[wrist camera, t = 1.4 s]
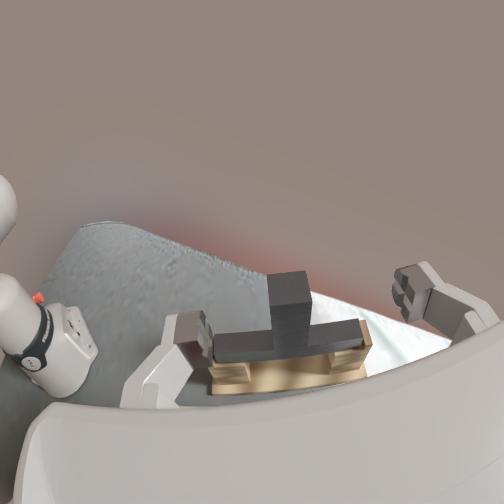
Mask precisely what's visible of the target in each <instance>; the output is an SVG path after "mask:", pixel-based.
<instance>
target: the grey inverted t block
mask: <svg viewBox="0 0 504 504" xmlns="http://www.w3.org/2000/svg"><path fill="white" fill-rule="evenodd" d="M267 283H268V293H269V304H270V314H271V324H272V330H263V331H252V332H239V333H225V334H214V356H215V358H216V360H217V362H218V364H229V363H245V362H259V361H270V360H280V359H290V358H298V357H306V356H314V355H321V354H328V353H334V352H340V351H346V350H352V349H357V348H359V347H360V345H361V343H362V340H363V338H364V336H363V333H362V329H361V326H360V323H359V319H358V318H357V319H351V320H345V321H338V322H331V323H324V324H317V325H310V319H311V310H312V298H311V293H310V289H309V284H308V279H307V275H306V271H297V272H288V273H278V274H269V275H267Z"/></svg>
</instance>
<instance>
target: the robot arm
mask: <svg viewBox="0 0 504 504" xmlns="http://www.w3.org/2000/svg"><path fill="white" fill-rule="evenodd" d="M16 220H17V201H16V196H15V193H14V191H13V189H12V187H11V185H10V184H9V182H8V181H7V180H6V179H5V178H4V177H3V176H1V175H0V244H1V243H2V242H3V240H4V239H5V238H6V236H7V235H8V234H9V232H10V231H11V230H12V228H13V227H14V226H15V224H16ZM394 277H395V279H396V281H395V282H394V283H393V286H392V295H393V299H394V301H395V303H396V305H397V306H399V307H401V308H402V309H401V314H402V316H403V317H404V319H405V321H406V323H410V322H413V321H416V320H420V319H423V320H425V321H426V322H428V323H429V324H430V325H432V326H433V327H435V328H436V329H437V330H439V331H440V332H442V333H443V334H444V335H446V336H447V337H449V338H450V339H451V340H452V342H451V344H450V345H449V347H448V348H446V349H443V350H441V351H439V352H436V353H434V354H431V355H429V356H427V357H424V358H421V359H419V360H416V361H414V362H411V363H408V364H406V365H403V366H400V367H397V368H394V369H391V370H388V371H385V372H382V373H379V374H376V375H373V376H370V377H366V378H363V379H359V380H356V381H352V382H349V383H345V384H341V385H337V386H333V387H329V388H325V389H321V390H316V391H312V392H307V393H303V394H298V395H292V396H287V397H282V398H276V399H270V400H263V401H256V402H249V403H241V404H232V405H222V406H211V407H197V408H180V407H179V406H178V405H177V404H176V403H175V402H174V400H175V399H176V397H177V395H178V394H179V392H180V391H181V389H182V387H183V386H184V384H185V383H186V381H187V379H188V378H189V376H190V375H191V373H192V371H193V369H197V368H205V367H212V360H213V353H212V351H211V349H210V348H211V347H212V345H213V335H212V330H211V327H210V325H209V323H207V322H205V317H206V316H205V314H204V312H203V311H201V310H200V311H193V312H185V313H179V314H171V315H167V317H166V319H165V324H164V329H163V335H162V340H161V345H160V346H157V347H156V348H155V349H154V350H153V351H152V352H151V354H150V355H149V356H148V357H147V358H146V359H145V360H144V362H143V363H142V364H141V365H140V366H139V367H138V368H137V369H136V371H135V372H134V373H133V374H132V375H131V376H130V377H129V379H128V380H127V381H126V382H125V384H124V388H123V393H122V398H121V403H120V408H111V407H98V406H87V405H78V404H70V403H63V402H53V403H51V404H50V405H49V406H47V407H46V408H45V409H44V410H43V411H42V412H41V413H40V414H39V415H38V416H37V417H36V418H35V419H34V420H33V421H32V423H31V424H30V426H29V428H28V431H27V434H26V436H25V439H24V443H23V446H22V450H21V454H20V458H19V462H18V467H17V472H16V478H15V485H14V493H13V504H504V319H503V320H502V321H500V320H499V318H498V317H497V315H496V314H495V312H494V311H493V310H492V308H491V307H490V306H489V304H488V303H487V302H485V301H483V300H481V299H479V298H477V297H475V296H473V295H471V294H469V293H467V292H465V291H462V290H460V289H458V288H456V287H454V286H452V285H450V284H448V283H446V284H444V282H443V281H442V280H441V279H440V277H439V276H438V275H437V273H436V272H435V271H434V270H433V268H432V267H431V266H430V265H429V264H428V263H427V262H426V261H423V262H420V263H417V264H413V265H410V266H406V267H403V268H399V269H396V271H395V274H394ZM42 302H44V297H43V295H42V294H41V293H40V292H38V293H37V294H36V295H33V296H32V298H31V297H30V296H29V295H28V293H27V292H26V291H25V290H24V289H23V287H22V286H21V285H20V283H19V282H18V281H17V280H16V279H15V278H13V277H12V276H10V275H6V274H1V273H0V347H1V348H2V350H3V352H4V353H5V354H6V355H7V356H8V358H9V359H10V360H12V361H13V362H15V363H16V364H17V365H18V366H19V367H20V368H21V369H22V370H23V371H24V372H25V373H26V374H27V375H29V376H30V377H31V380H32V382H33V383H35V384H36V385H38V386H41V387H42V388H43V389H44V390H45V391H46V392H47V393H48V394H49V395H51V396H53V397H56V398H64V397H67V396H69V395H71V394H73V393H74V392H76V391H77V390H78V389H79V388H80V386H81V385H82V384H83V382H84V380H85V379H86V376H87V374H88V371H89V368H90V365H91V363H92V361H93V360H94V359H95V357H96V356H97V354H98V348H97V346H96V344H95V342H94V340H93V338H92V336H91V334H90V331H89V329H88V327H87V325H86V323H85V320H84V318H83V316H82V313H81V311H80V309H79V308H78V307H68V308H65V307H64V306H63V305H62V304H60V303H52V304H49V305H47V306H44V307H43V306H41V305H39V303H42ZM90 347H91V348H90Z"/></svg>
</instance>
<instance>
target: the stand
mask: <svg viewBox="0 0 504 504" xmlns="http://www.w3.org/2000/svg"><path fill="white" fill-rule="evenodd" d="M359 323H360V326H361V329H362V333H363V336H364V338H363V340H362V343H361V345H360V347H359V348H357V349H352V350H346V351H340V352H334V353H328V354H321V355H314V356H306V357H298V358H290V359H280V360H270V361H259V362H245V363H229V364H218V362H217V360H216V358H215V356H214V337H213V345H212V347H211V348H210V349H211V351H212V353H213V360H212V367H207V368H208V369H209V371H210V373H211V374H212V395H213V396H228V395H249V394H264V393H276V392H286V391H295V390H303V389H310V388H317V387H324V386H330V385H336V384H342V383H347V382H352V381H356V380H359V379H363V378H366V377H367V374H366V370H365V366H364V360H365V358H366V356H367V354H368V352H369V350H370V348H371V346H372V345H373V344H372V340H371V337H370V334H369V330H368V327H367V324H366V321H365V320H360V321H359Z"/></svg>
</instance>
